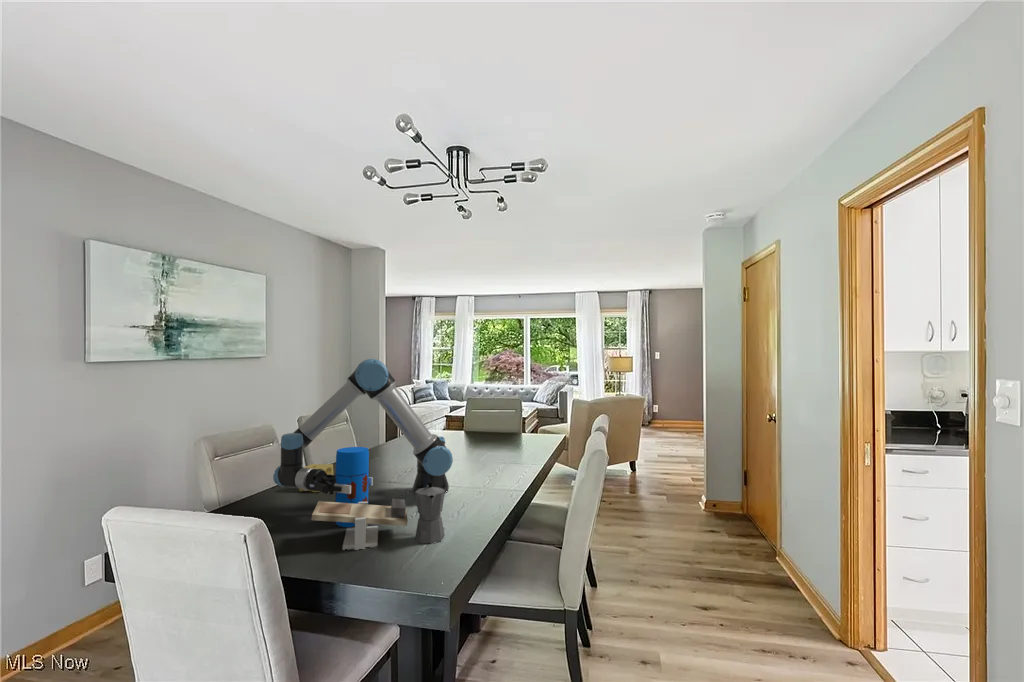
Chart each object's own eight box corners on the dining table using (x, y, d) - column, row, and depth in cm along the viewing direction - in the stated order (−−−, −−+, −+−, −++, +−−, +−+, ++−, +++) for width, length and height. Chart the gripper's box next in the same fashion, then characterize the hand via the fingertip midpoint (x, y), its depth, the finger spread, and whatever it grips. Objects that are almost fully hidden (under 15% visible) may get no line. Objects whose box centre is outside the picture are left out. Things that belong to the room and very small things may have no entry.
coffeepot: (446, 545, 151) (447, 485, 152) (415, 547, 149) (415, 487, 150) (442, 528, 166) (442, 474, 167) (413, 530, 164) (414, 475, 165)
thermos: (374, 519, 175) (375, 448, 176) (355, 529, 165) (356, 453, 166) (348, 515, 179) (349, 446, 179) (328, 525, 169) (329, 451, 169)
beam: (405, 511, 167) (407, 498, 167) (406, 525, 153) (409, 510, 153) (317, 506, 160) (319, 491, 160) (311, 520, 146) (313, 504, 147)
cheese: (319, 493, 208) (320, 469, 208) (297, 491, 210) (297, 468, 210) (333, 486, 218) (333, 463, 218) (311, 485, 220) (311, 462, 220)
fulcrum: (378, 527, 166) (378, 500, 167) (377, 548, 149) (377, 517, 149) (347, 530, 164) (347, 502, 164) (342, 551, 146) (342, 520, 147)
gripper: (334, 482, 190) (382, 488, 181) (286, 498, 168) (338, 506, 160) (334, 462, 190) (382, 467, 182) (286, 476, 168) (338, 482, 160)
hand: (361, 485), depth 171 cm, fingers closed on thermos, 11 cm apart
